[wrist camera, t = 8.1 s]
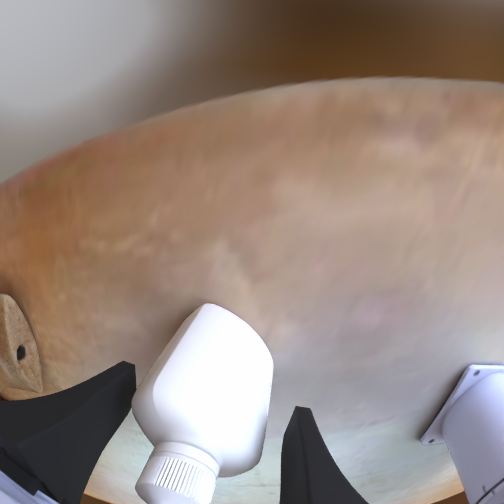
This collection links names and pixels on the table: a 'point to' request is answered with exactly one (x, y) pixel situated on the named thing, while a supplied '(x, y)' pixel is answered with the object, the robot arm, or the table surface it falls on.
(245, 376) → the eye dropper bottle
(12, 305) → the stone cup
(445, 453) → the table surface
